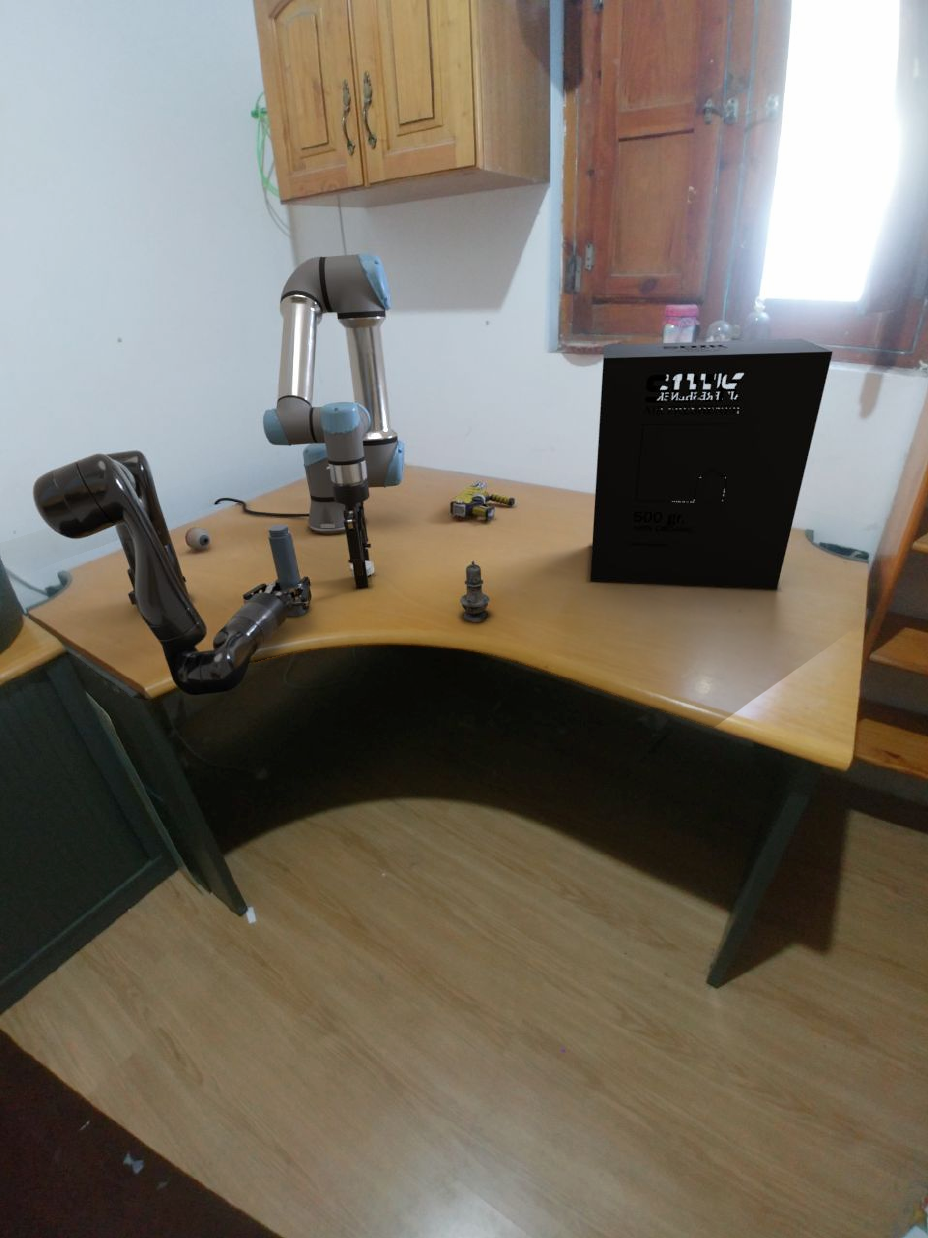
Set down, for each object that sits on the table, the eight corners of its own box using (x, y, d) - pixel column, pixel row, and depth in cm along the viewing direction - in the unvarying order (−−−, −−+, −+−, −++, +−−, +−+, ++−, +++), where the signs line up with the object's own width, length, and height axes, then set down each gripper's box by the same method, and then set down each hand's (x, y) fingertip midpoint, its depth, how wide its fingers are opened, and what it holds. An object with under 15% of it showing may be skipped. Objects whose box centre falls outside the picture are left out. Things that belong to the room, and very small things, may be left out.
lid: (378, 571, 136) (378, 564, 135) (360, 578, 133) (359, 572, 132) (365, 565, 139) (364, 558, 139) (346, 572, 136) (345, 565, 136)
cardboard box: (756, 549, 141) (800, 338, 118) (776, 589, 124) (832, 351, 101) (592, 544, 148) (604, 344, 126) (590, 580, 131) (603, 357, 109)
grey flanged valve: (487, 623, 118) (485, 567, 112) (458, 621, 119) (454, 566, 113) (492, 608, 123) (490, 554, 117) (464, 607, 124) (461, 553, 118)
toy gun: (523, 485, 181) (476, 478, 185) (501, 509, 161) (448, 500, 165) (521, 500, 184) (475, 493, 187) (499, 525, 163) (447, 517, 167)
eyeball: (199, 555, 155) (192, 533, 152) (183, 551, 158) (177, 529, 155) (218, 547, 159) (212, 525, 156) (203, 543, 162) (197, 522, 159)
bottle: (304, 616, 125) (286, 530, 115) (283, 617, 125) (263, 532, 115) (308, 605, 128) (291, 522, 119) (288, 606, 129) (269, 523, 119)
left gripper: (289, 605, 108) (325, 564, 123) (217, 601, 111) (261, 562, 125) (297, 640, 112) (331, 597, 127) (227, 636, 115) (268, 594, 129)
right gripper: (338, 470, 134) (352, 565, 145) (324, 495, 118) (341, 600, 129) (372, 468, 134) (383, 563, 145) (362, 493, 118) (376, 598, 129)
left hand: (296, 580), depth 126 cm, fingers closed on bottle, 4 cm apart
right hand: (364, 581), depth 137 cm, fingers closed on lid, 5 cm apart
